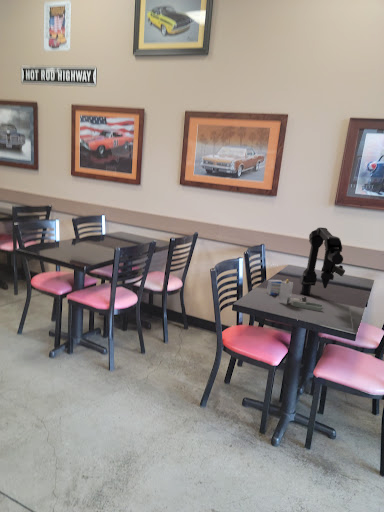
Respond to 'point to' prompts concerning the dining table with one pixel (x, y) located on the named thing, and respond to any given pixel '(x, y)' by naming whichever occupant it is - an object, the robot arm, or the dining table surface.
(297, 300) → the ram
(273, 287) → the medicine box
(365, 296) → the dining table surface
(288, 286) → the housing
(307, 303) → the press bed
